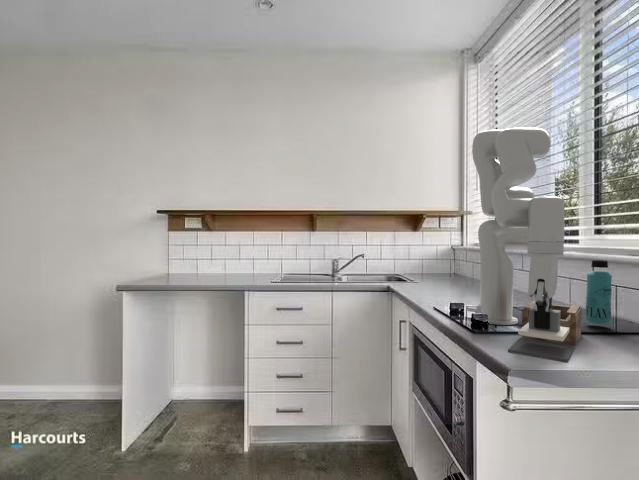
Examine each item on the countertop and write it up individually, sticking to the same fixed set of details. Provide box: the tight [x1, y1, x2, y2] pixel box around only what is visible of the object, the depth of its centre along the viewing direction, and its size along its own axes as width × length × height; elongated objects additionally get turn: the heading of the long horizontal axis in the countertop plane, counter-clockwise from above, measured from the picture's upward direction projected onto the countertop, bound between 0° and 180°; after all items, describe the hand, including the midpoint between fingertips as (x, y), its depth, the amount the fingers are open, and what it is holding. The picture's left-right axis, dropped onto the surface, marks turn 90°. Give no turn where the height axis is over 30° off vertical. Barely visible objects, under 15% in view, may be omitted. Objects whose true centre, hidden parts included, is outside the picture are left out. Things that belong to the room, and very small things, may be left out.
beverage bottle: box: [584, 259, 613, 325], centre depth 124 cm, size 6×7×20 cm
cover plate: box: [517, 307, 569, 341], centre depth 98 cm, size 9×12×6 cm
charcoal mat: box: [507, 337, 576, 363], centre depth 98 cm, size 12×14×1 cm
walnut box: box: [521, 300, 583, 348], centre depth 111 cm, size 12×14×8 cm
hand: (543, 326), depth 98 cm, fingers closed on cover plate, 4 cm apart
